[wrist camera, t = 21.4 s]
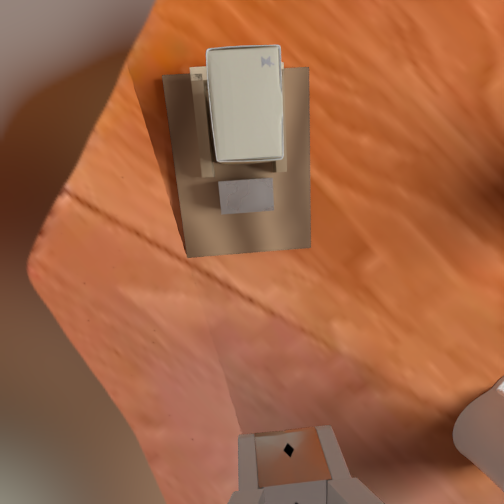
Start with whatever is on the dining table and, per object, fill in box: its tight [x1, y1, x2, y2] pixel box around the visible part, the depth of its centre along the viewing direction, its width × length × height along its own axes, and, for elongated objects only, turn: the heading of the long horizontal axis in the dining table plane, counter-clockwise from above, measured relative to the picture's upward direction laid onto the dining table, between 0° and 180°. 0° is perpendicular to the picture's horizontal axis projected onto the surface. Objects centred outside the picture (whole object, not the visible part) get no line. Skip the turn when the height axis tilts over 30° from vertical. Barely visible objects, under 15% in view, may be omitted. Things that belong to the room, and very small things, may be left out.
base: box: [162, 62, 311, 258], centre depth 28 cm, size 14×18×4 cm
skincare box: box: [206, 45, 284, 165], centre depth 22 cm, size 6×4×12 cm
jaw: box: [218, 178, 274, 215], centre depth 27 cm, size 5×3×4 cm, turn 94°
